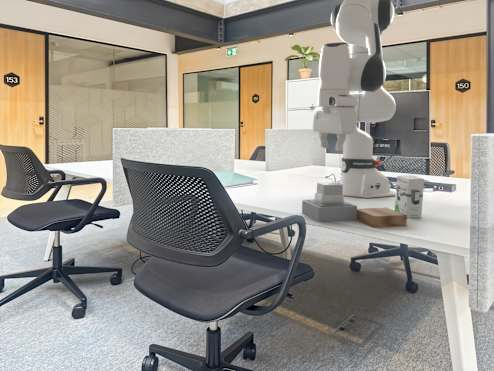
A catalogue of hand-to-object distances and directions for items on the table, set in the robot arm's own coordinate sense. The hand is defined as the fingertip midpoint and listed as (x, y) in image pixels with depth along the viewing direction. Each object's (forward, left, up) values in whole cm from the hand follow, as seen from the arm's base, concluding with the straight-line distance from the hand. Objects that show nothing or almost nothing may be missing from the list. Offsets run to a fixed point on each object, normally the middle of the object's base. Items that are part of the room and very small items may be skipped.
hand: (331, 149), depth 120 cm
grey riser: (0, 0, -20) cm, 20 cm away
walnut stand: (-11, +10, -20) cm, 25 cm away
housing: (0, 0, -16) cm, 16 cm away
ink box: (-25, +3, -20) cm, 32 cm away
